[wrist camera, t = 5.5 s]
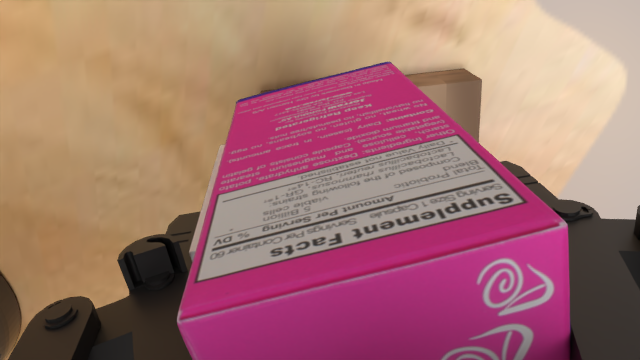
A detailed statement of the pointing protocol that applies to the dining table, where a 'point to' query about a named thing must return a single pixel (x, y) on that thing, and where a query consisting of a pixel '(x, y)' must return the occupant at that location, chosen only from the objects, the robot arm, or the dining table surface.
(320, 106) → the supplement box
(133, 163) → the dining table surface
